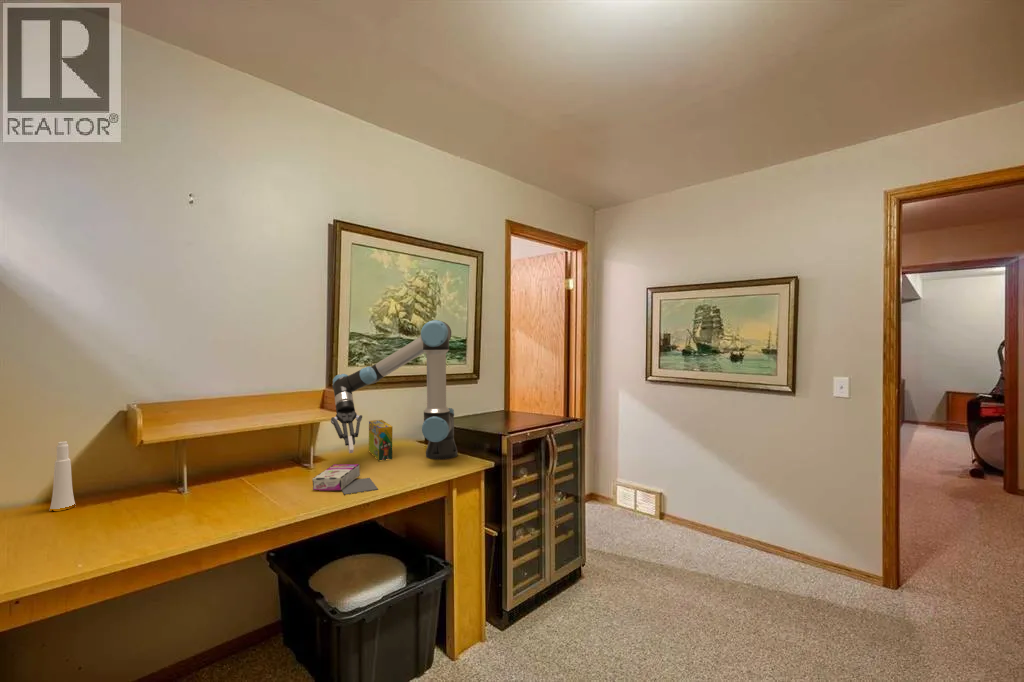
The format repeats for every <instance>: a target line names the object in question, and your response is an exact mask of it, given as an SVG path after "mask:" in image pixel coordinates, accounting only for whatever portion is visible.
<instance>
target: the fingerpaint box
mask: <svg viewBox="0 0 1024 682" xmlns="http://www.w3.org/2000/svg"><path fill="white" fill-rule="evenodd" d="M369 451H370V452H371V453H372V454H373V455H374V456H375V457H376V458H377V459H378V460H384V461H387V460H386V459H391V460H393V425H392V424H391V425H390V424H389V423H388V422H386V421H384V420H383V419H373V420H369V421H368V452H369ZM370 452H369V453H370ZM371 453H370V454H371ZM372 454H371V455H372ZM373 455H372V456H373ZM374 456H373V457H374ZM375 457H374V458H375ZM376 458H375V459H376ZM377 459H376V460H377ZM378 460H377V461H378Z"/></svg>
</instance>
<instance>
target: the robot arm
mask: <svg viewBox="0 0 1024 682" xmlns="http://www.w3.org/2000/svg"><path fill="white" fill-rule="evenodd" d="M451 338H452V330H451V327H450V325H449V324H448V323H446V322H444V321H442V320H439V319H433V320H430V321H428V322H426V323H424V325H423V326H422V328H421V330H420V335H419V336H418V337H417V338H416V339H414V340H413V341H411V342H409V343H407V344H406V345H403V346H402V347H401V348H400V349H399V348H398V350H396V351H394V352H392V353H391V354H389V355H388V356H387V357H384V358H383V359H381V360H380V361H378V362H375V364H373V365H371V366H370V365H369V366H365V367H363V368H361V369H359V370H357V371H356V372H353V373H352V374H349V375H348V374H347V373H341V374H337V375H335V376H334V377H333V379H332V389H333V395H334V404H335V410H336V414H335V416H334V417H331V418H330V423H331V424H332V426H333V427H334V428H335V431H336V433H337V435H338V439H341V440H342V439H343V440H344V445H345V446H347V448H348V454H353V453H354V451H355V449H354V448H355V447H354V446H355V444H356V438H358V437H359V434H360V426H361V421H362V420H363V415H362V414H361V415H358V413H357V412H356V409H355V401H354V398H353V397H354V396H353V392H356V391H357V390H359V389H361V388H364V387H366V386H369V385H373V384H377V382H380V380H382V379H383V378H384V377H386V376H388V375H390V374H392V373H393V372H394V371H396V370H398V369H399V368H401V367H403V366H405V365H406V364H408V363H409V362H411V361H413V360H415V359H416V358H418V357H419V356H421V355H423V354H426V408H425V409H424V410H423V422H422V425H421V432H422V436H423V437H424V438H425V439H426V440H427V441H428V443H427V446H426V450H425V457H426V458H427V459H430V460H447V459H448V460H449V459H454V458H455V457H457V456H458V448H457V445H456V441H455V437H454V436H455V411H454V408H450V407H448V406H447V361H446V360H447V358H446V355H447V353H448V352H449V351H450V340H451ZM354 420H356V428H355V430H354V423H353V422H354ZM340 423H341V426H340ZM347 424H348V425H347ZM347 426H348V427H347ZM341 427H342V428H341ZM348 428H349V431H348ZM348 432H349V433H348Z"/></svg>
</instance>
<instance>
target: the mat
mask: <svg viewBox="0 0 1024 682" xmlns="http://www.w3.org/2000/svg"><path fill="white" fill-rule="evenodd" d="M372 490H373V491H377V490H379V487H377V485H376V484H375V483H374V481H373V480H372V479H371V478H370V477H365V478H359V479H357V478H356V479H354V480H353V481H352V482H351V483H349V484H348V485H347V486H346V487H344V488H343V489H342V490H341V492H342V494H343V493H344V494H343V496H346V495H345V494H349V495H352V494H351V493H355V494H358V493H357V492H361V493H365V492H364V491H367V492H371V491H372Z"/></svg>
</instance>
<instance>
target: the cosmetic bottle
mask: <svg viewBox="0 0 1024 682" xmlns="http://www.w3.org/2000/svg"><path fill="white" fill-rule="evenodd" d="M69 446H70V445H69V444H68V441H65V440H64V441H59V442H57V444H56V459H55V461H54V467H53V470H54V471H53V484H52V485H53V486H52V496H51V503H50V507H49V510H50V509H60V508H65V507H69V506H72V505H74V504H75V505H76V502H75V501H76V500H75V497H74V490H73V488H74V487H73V477H72V476H73V475H72V474H73V473H72V460H71V458H69V455H70V454H69V453H70V452H69Z"/></svg>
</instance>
